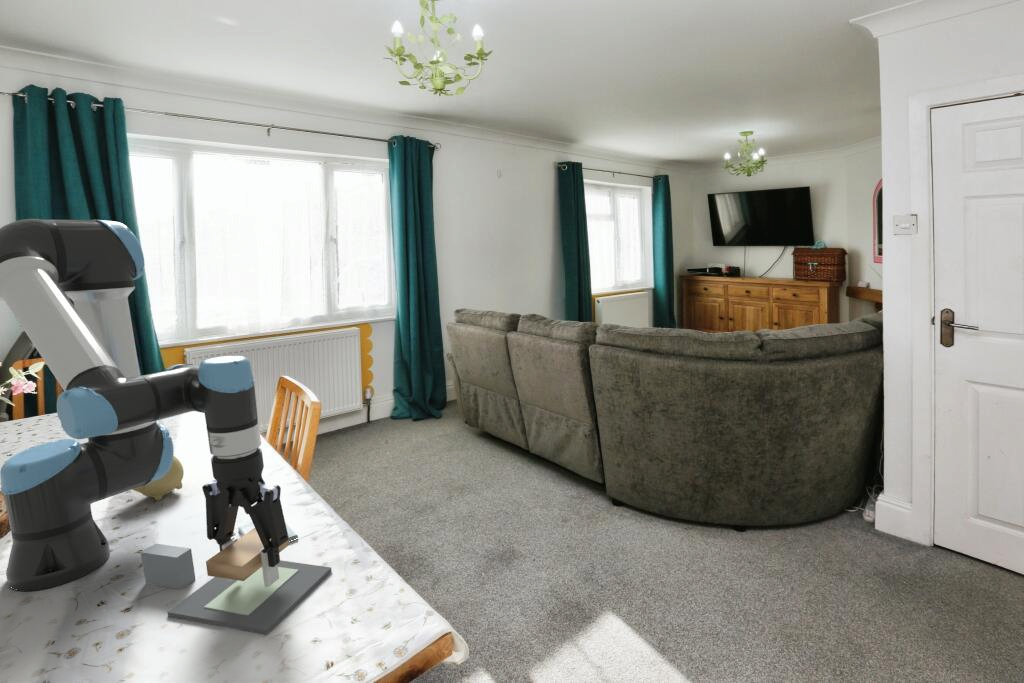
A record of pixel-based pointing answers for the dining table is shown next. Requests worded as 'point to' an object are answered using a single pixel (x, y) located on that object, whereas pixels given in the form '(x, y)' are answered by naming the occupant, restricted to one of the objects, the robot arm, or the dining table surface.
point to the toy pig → (164, 482)
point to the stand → (168, 566)
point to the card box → (239, 558)
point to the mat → (251, 598)
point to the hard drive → (250, 526)
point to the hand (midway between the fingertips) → (252, 579)
